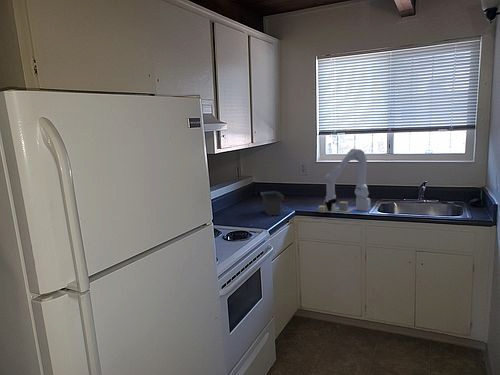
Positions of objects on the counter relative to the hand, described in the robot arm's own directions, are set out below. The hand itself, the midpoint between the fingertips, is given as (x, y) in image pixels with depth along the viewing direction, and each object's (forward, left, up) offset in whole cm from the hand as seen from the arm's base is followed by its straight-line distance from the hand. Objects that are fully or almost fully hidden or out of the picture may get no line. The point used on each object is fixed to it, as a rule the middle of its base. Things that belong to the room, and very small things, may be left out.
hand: (330, 209), depth 265 cm
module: (0, 0, -2) cm, 2 cm away
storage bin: (+37, +18, -2) cm, 41 cm away
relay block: (+7, 0, -2) cm, 7 cm away
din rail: (0, -9, -2) cm, 9 cm away
